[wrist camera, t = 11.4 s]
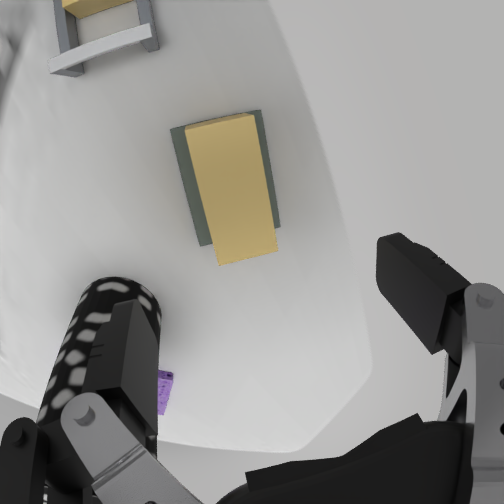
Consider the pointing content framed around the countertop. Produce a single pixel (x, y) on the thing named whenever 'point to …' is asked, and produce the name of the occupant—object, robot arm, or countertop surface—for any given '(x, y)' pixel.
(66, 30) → the dispenser
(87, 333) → the white-spotted black cylinder
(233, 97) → the countertop surface
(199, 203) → the mat
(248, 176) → the wooden block
